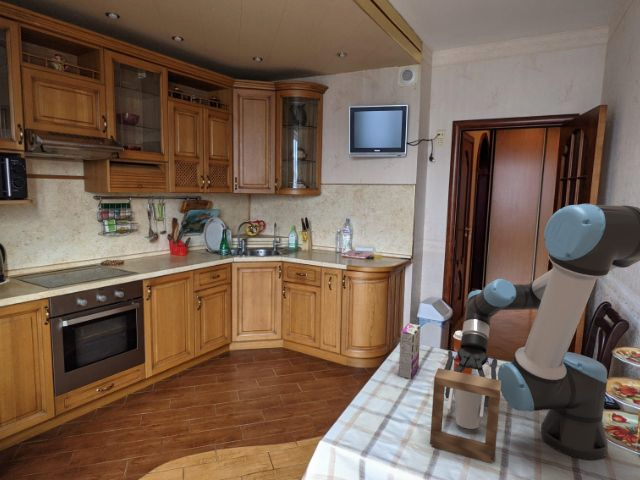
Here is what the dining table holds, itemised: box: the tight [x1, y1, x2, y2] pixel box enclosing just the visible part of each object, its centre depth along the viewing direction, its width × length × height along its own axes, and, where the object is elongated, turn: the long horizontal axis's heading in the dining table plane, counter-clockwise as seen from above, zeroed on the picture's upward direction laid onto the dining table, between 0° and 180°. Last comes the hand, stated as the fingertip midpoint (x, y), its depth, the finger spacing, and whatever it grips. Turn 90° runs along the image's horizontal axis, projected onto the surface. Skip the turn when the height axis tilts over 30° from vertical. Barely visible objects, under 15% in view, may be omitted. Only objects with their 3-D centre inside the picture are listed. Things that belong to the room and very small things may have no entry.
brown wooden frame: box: [429, 367, 501, 464], centre depth 106 cm, size 15×7×18 cm, turn 65°
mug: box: [453, 389, 482, 430], centre depth 116 cm, size 10×7×12 cm, turn 17°
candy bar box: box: [398, 323, 422, 380], centre depth 150 cm, size 11×5×16 cm, turn 155°
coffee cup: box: [452, 330, 473, 375], centre depth 150 cm, size 8×8×15 cm
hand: (464, 414), depth 113 cm, fingers closed on mug, 8 cm apart
